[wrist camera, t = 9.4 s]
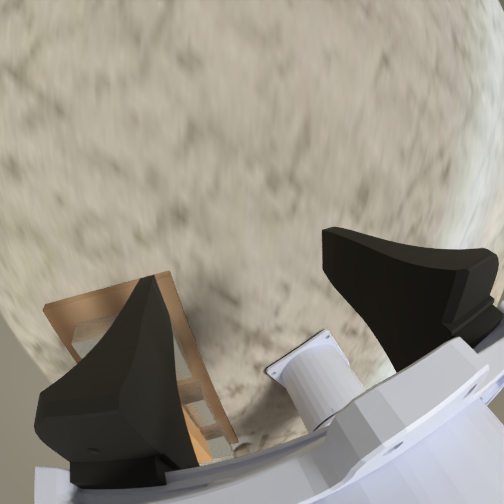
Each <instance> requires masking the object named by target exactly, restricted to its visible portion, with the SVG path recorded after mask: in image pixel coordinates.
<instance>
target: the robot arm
mask: <svg viewBox="0 0 504 504" xmlns="http://www.w3.org/2000/svg"><path fill="white" fill-rule="evenodd" d="M322 259H323V271H324V273H325V274H326V276H327V277H328V279H329V280H330V282H331V283H332V285H333V286H334V287H335V288H336V290H337V291H338V292H339V293H340V294H341V295H342V296H343V297H344V299H345V300H346V301H347V302H348V303H349V304H350V305H351V306H352V307H353V308H354V310H355V311H356V312H357V313H358V314H359V315H360V316H361V317H362V319H363V320H364V321H365V322H366V323H367V325H368V326H369V328H370V329H371V331H372V332H373V333H374V335H375V336H376V338H377V339H378V341H379V343H380V344H381V346H382V347H383V349H384V351H385V352H386V354H387V356H388V358H389V359H390V361H391V363H392V365H393V367H394V369H395V370H396V372H397V373H396V374H394V375H392V376H391V377H389V378H387V379H385V380H383V381H382V382H380V383H378V384H376V385H374V386H372V387H371V388H369V389H368V390H366V389H365V388H364V386H363V385H362V384H361V382H360V381H359V379H358V378H357V377H356V375H355V374H354V372H353V371H352V370H351V368H350V367H349V365H350V363H349V361H348V360H347V358H346V357H345V355H344V354H343V352H342V350H341V349H340V347H339V346H338V344H337V343H336V341H335V340H334V338H333V336H332V335H331V333H330V332H329V330H327V329H325V330H323V331H321V332H320V333H319V334H317V335H316V336H314V337H313V338H312V339H310V340H309V341H307V342H306V343H304V344H303V345H302V346H300V347H299V348H297V349H296V350H294V351H293V352H291V353H290V354H288V355H287V356H285V357H284V358H282V359H281V360H279V361H278V362H276V363H274V364H273V365H271V366H270V367H268V368H267V369H266V372H267V374H268V375H270V376H271V377H272V378H273V379H275V380H276V381H277V382H278V383H280V384H281V385H282V386H283V387H285V388H286V389H287V391H288V393H289V395H290V397H291V399H292V401H293V403H294V405H295V407H296V409H297V411H298V413H299V415H300V417H301V419H302V421H303V423H304V425H305V427H306V429H307V430H308V432H309V434H306V435H304V436H301V437H299V438H296V439H293V440H291V441H288V442H285V443H282V444H280V445H277V446H274V447H271V448H268V449H265V450H261V451H258V452H255V453H252V454H248V455H245V456H241V457H237V458H234V459H230V460H226V461H222V462H218V463H213V464H209V465H204V466H199V463H198V460H197V457H196V454H195V451H194V448H193V445H192V442H191V438H190V435H189V432H188V428H187V425H186V421H185V417H184V413H183V409H182V405H181V401H180V396H179V392H178V386H177V379H176V368H175V355H174V340H173V331H172V326H171V321H170V315H169V312H168V310H167V307H166V305H165V302H164V299H163V297H162V294H161V291H160V289H159V286H158V283H157V281H156V278H155V275H151V276H148V277H144V278H140V280H139V281H138V283H137V284H136V286H135V288H134V290H133V291H132V293H131V295H130V297H129V298H128V300H127V302H126V303H125V305H124V307H123V308H122V310H121V311H120V313H119V314H118V316H117V317H116V319H115V320H114V322H113V324H112V325H111V326H110V328H109V329H108V330H107V332H106V333H105V334H104V336H103V337H102V338H101V339H100V341H99V342H98V343H97V344H96V345H95V346H94V347H93V348H92V349H91V350H90V352H89V353H88V354H87V355H86V356H85V357H84V358H83V359H82V360H81V361H80V362H79V363H78V364H77V365H76V366H74V367H73V368H72V369H71V370H70V371H69V372H68V373H66V374H65V375H64V376H63V377H61V378H60V379H59V380H58V381H56V382H55V383H53V384H52V385H51V386H49V387H48V388H47V389H45V390H44V391H42V392H41V393H40V396H39V401H38V406H37V412H36V418H35V423H34V429H35V432H36V434H37V435H38V437H39V438H40V439H41V440H42V441H43V442H44V443H45V444H46V445H47V446H49V447H50V448H51V449H52V450H54V451H55V452H57V453H58V454H59V455H61V456H62V457H64V458H65V459H66V460H68V461H69V462H70V470H67V469H64V468H59V467H44V466H36V467H35V487H34V488H35V489H34V502H35V503H34V504H504V426H503V424H502V423H501V422H500V421H499V420H498V418H497V417H496V416H495V415H494V414H493V413H492V411H491V410H490V409H489V408H488V407H487V405H488V404H489V403H490V402H491V401H492V400H493V398H494V397H495V396H496V395H497V394H498V393H499V392H500V391H501V389H502V388H503V387H504V300H503V301H502V302H501V303H500V304H499V306H498V307H497V308H496V307H495V306H494V305H493V303H494V298H493V297H491V296H490V292H491V290H492V287H493V284H494V281H495V278H496V275H497V271H498V266H499V261H498V257H497V255H496V254H494V253H493V252H491V251H490V250H488V249H485V248H478V249H463V250H452V249H434V248H424V247H417V246H411V245H405V244H400V243H396V242H392V241H388V240H384V239H380V238H376V237H373V236H369V235H366V234H362V233H359V232H355V231H352V230H348V229H344V228H339V227H331V228H327V229H324V230H322Z"/></svg>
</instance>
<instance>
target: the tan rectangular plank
mask: <svg viewBox="0 0 504 504" xmlns="http://www.w3.org/2000/svg"><path fill="white" fill-rule="evenodd" d="M182 409H183V413H184V417H185V421H186V425H187V428H188V432H189V435H190V438H191V442H192V445H193V448H194V451H195V454H196V457H197V460H198V463H203V462H207V461H212V460H213V459H212V455H211V452H210V448H209V444H208V442H207V440H206V439H205V438H204V436H203V435H202V434H201V432H200V428H197V427H196V425H195V424H194V422H193V421H192V419H191V418H190V417H189V415H188V414H187V412H186V411H185V409H184V408H183V406H182Z"/></svg>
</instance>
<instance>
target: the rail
mask: <svg viewBox="0 0 504 504" xmlns="http://www.w3.org/2000/svg"><path fill="white" fill-rule="evenodd" d="M164 302H165V305H166V307H167V310H168V312H169V309H168V306H167V304H166V301H164ZM118 314H119V313H117V314H113V315H109V316H105V317H100V318H96V319H92V320H88V321H84V322H80V323H77V324H76V328H75V331H74V335H73V339H72V343H71V344H72V346H73V347H74V349H75V350H76V352H77V353H78V355H79V356H80V357H81V359H83V358H84V357H85V356H86V355H87V354H88V353H89V352H90V350H91V349H92V348H93V347H94V346H95V345H96V344H97V343H98V342H99V341H100V339H101V338H102V337H103V336H104V334H105V333H106V332H107V330H108V329H109V328H110V326H111V325H112V324H113V322H114V320H115V319H116V317H117V316H118ZM169 315H170V321H171V326H172V331H173V340H174V355H175V368H176V379H177V381H179V380H184V379H188V378H192V373H191V368H190V362H189V357H188V355H187V352H186V350H185V348H184V345H183V343H182V341H181V338H180V336H179V334H178V331H177V329H176V326H175V324H174V322H173V319H172V317H171V314H170V312H169ZM178 392H179V396H180V401H181V405H182V406H183V408H184V409H185V411H186V412H187V414H188V415H189V417H190V418H191V419H192V421H193V422H194V424H195V425H196V427H197V428H200V432H201V434H202V435H203V436H204V438H205V439H206V440H207V442H208V444H209V448H210V452H211V455H212V459H215V458H219V457H223V456H227V455H231V454H234V452H233V449H232V446H231V443H230V440H229V438H228V436H227V434H226V432H225V430H224V428H223V427H222V425H221V423H220V421H219V420H217V421H216V420H215V416H214V413H213V409H212V405H211V403H210V401H209V399H208V397H207V395H206V393H205V391H204V389H203V387H202V385H201V383H200V381H199V380H198V381H194V382H190V383H186V384H182V385H178Z"/></svg>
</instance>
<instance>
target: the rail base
mask: <svg viewBox="0 0 504 504" xmlns="http://www.w3.org/2000/svg"><path fill="white" fill-rule="evenodd" d="M155 278H156V281H157V283H158V286H159V289H160V291H161V294H162V297H163V299H164V301H166V304H167V306H168V309H169V312H170V314H171V317H172V319H173V322H174V324H175V326H176V329H177V331H178V334H179V336H180V338H181V341H182V343H183V345H184V348H185V350H186V352H187V355H188V357H189V362H190V368H191V373H192V378H188V379H184V380H179V381H177V386H178V385H182V384H186V383H190V382H194V381H198V380H199V381H200V383H201V385H202V387H203V389H204V391H205V393H206V395H207V397H208V399H209V401H210V403H211V405H212V409H213V413H214V416H215V420H216V421H217V420H219V421H220V423H221V425H222V427H223V428H224V430H225V432H226V434H227V436H228V438H229V440H230V443H231V444H234V443H238V439H237V437H236V435H235V432H234V430H233V428H232V426H231V424H230V422H229V420H228V418H227V416H226V413H225V411H224V409H223V407H222V405H221V402H220V400H219V398H218V396H217V393H216V391H215V389H214V387H213V384H212V382H211V380H210V377H209V375H208V372H207V370H206V368H205V365H204V363H203V360H202V358H201V355H200V353H199V350H198V348H197V345H196V343H195V340H194V337H193V335H192V332H191V330H190V327H189V324H188V322H187V319H186V316H185V313H184V311H183V308H182V305H181V302H180V299H179V296H178V294H177V291H176V288H175V285H174V282H173V279H172V276H171V273H170V271H167V272H163V273H159V274H155ZM139 280H140V279H137V280H133V281H130V282H126V283H122V284H119V285H115V286H111V287H107V288H104V289H100V290H96V291H93V292H89V293H85V294H82V295H78V296H74V297H71V298H67V299H63V300H60V301H56V302H53V303H49V304H45V306H44V308H43V312H44V314H45V315H46V317H47V319H48V320H49V322H50V323H51V325H52V327H53V328H54V330H55V331H56V333H57V334H58V336H59V338H60V339H61V341H62V342H63V343H64V345H65V346H66V348H67V349H68V351H69V352H70V354H71V355H72V356H73V358H74V359H75V361H76V362H77V363H79V362H80V361H81V360H82V359H81V357H80V356H79V355H78V353H77V352H76V350H75V349H74V347H73V346H72V344H71V343H72V339H73V335H74V331H75V328H76V324H77V323H80V322H84V321H88V320H92V319H96V318H100V317H105V316H109V315H113V314H117V313H120V311H121V310H122V308H123V307H124V305H125V303H126V302H127V300H128V298H129V297H130V295H131V293H132V291H133V290H134V288H135V286H136V284H137V283H138V281H139Z"/></svg>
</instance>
